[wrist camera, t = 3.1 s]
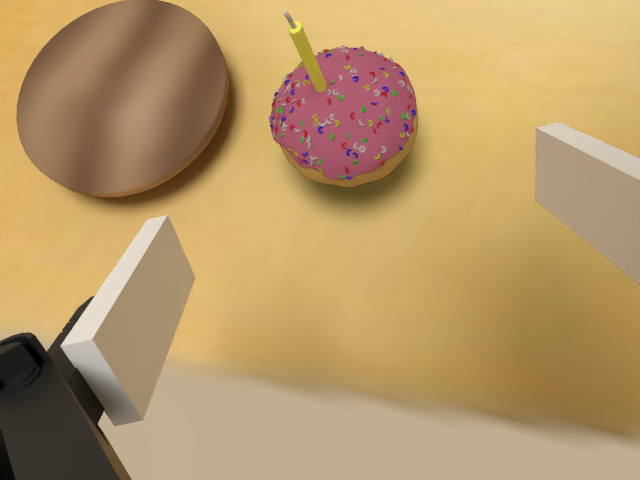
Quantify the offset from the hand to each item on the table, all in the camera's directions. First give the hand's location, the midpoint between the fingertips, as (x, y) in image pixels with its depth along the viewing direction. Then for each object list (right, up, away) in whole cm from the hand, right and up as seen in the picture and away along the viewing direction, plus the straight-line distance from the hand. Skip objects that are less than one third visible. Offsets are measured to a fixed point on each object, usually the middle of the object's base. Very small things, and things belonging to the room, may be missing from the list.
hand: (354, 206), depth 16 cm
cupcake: (+1, +5, +14) cm, 15 cm away
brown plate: (-15, +8, +17) cm, 24 cm away
